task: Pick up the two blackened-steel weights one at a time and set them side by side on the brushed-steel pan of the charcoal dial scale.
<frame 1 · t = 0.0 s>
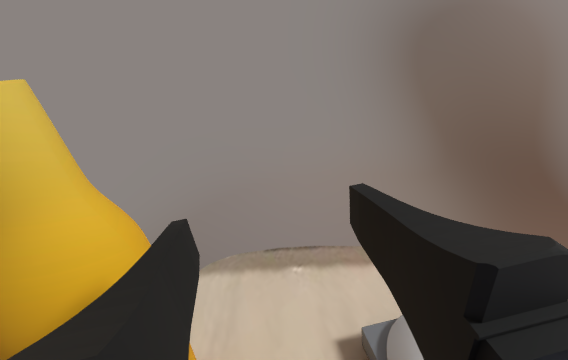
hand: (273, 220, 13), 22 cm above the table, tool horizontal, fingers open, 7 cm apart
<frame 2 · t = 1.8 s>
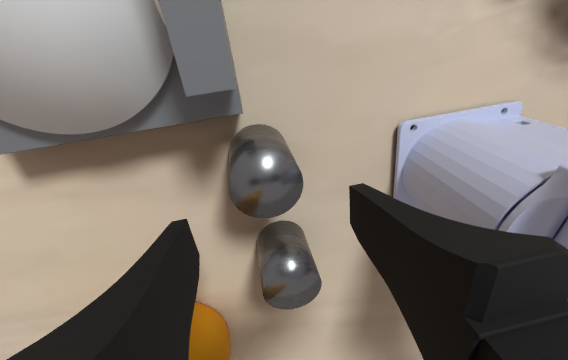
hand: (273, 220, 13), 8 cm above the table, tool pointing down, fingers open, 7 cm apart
steel weight 1: (258, 152, 20), on the table
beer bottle: (179, 330, 27), on the table
dial scale: (91, 6, 15), on the table
steel weight 2: (280, 240, 24), on the table
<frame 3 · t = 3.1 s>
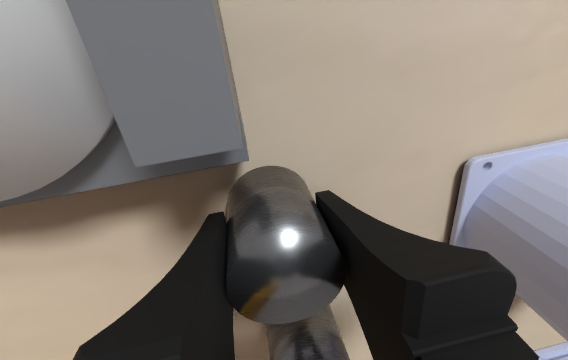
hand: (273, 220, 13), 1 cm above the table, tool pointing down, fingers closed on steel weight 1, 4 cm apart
steel weight 1: (269, 203, 14), on the table, touching gripper
steel weight 2: (296, 309, 18), on the table
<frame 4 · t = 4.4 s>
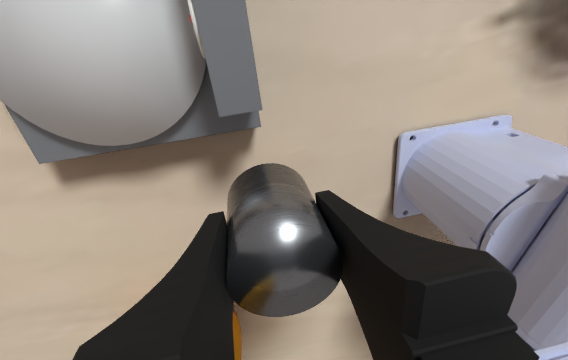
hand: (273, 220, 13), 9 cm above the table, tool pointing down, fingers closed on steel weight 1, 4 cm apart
steel weight 1: (268, 200, 14), point 8 cm above the table, touching gripper
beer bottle: (193, 324, 28), on the table
dial scale: (129, 32, 16), on the table
when the fingers open (6 cm above the table, at t = 6.2 s): steel weight 1 drops 1 cm, resting on dial scale.
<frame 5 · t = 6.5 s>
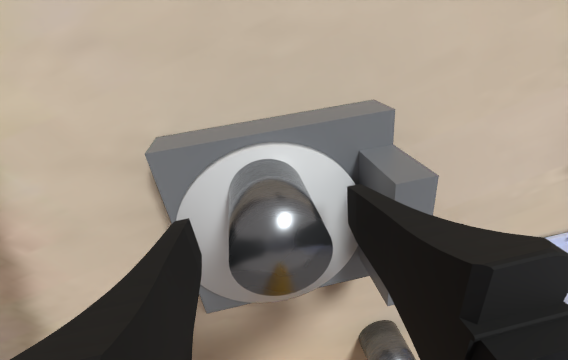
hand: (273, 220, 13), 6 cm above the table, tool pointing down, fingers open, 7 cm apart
steel weight 1: (266, 193, 15), point 3 cm above the table, touching dial scale
dial scale: (282, 203, 20), on the table
steel weight 2: (377, 333, 29), on the table
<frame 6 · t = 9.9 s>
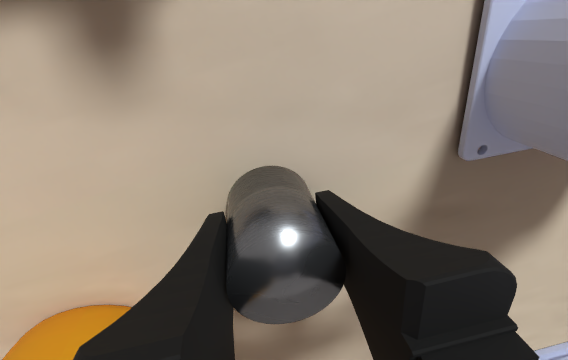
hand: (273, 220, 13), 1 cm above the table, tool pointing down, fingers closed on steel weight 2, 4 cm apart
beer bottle: (112, 351, 17), on the table
steel weight 2: (269, 203, 14), on the table, touching gripper
when the fingers open (6 cm above the table, at t = 13.0 s): steel weight 2 drops 1 cm, resting on dial scale.
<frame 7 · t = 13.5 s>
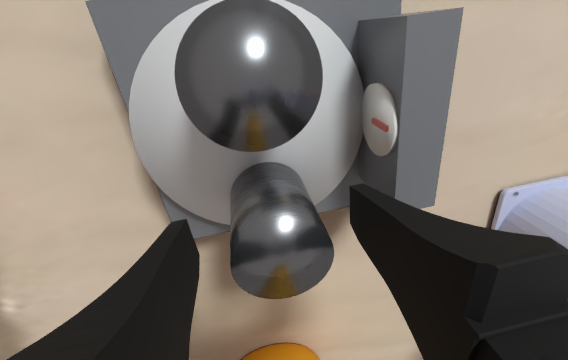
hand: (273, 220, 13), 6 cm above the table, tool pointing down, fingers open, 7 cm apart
steel weight 1: (243, 66, 12), point 3 cm above the table, touching dial scale
dial scale: (267, 111, 17), on the table
steel weight 2: (268, 196, 15), point 3 cm above the table, touching dial scale
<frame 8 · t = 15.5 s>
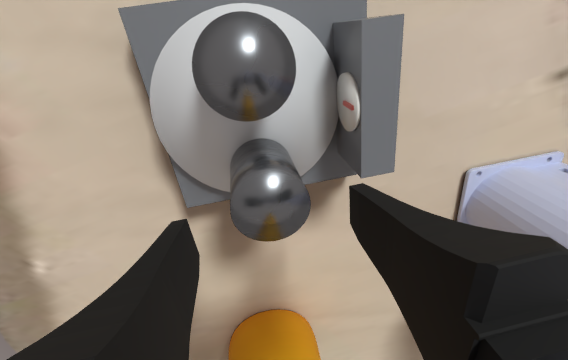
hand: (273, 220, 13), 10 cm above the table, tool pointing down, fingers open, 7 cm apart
steel weight 1: (240, 59, 15), point 3 cm above the table, touching dial scale
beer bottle: (270, 333, 32), on the table
dial scale: (261, 98, 20), on the table
steel weight 2: (261, 167, 19), point 3 cm above the table, touching dial scale
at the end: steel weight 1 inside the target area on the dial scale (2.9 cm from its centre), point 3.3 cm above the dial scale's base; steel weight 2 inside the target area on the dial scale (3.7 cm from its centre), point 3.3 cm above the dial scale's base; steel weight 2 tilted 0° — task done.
